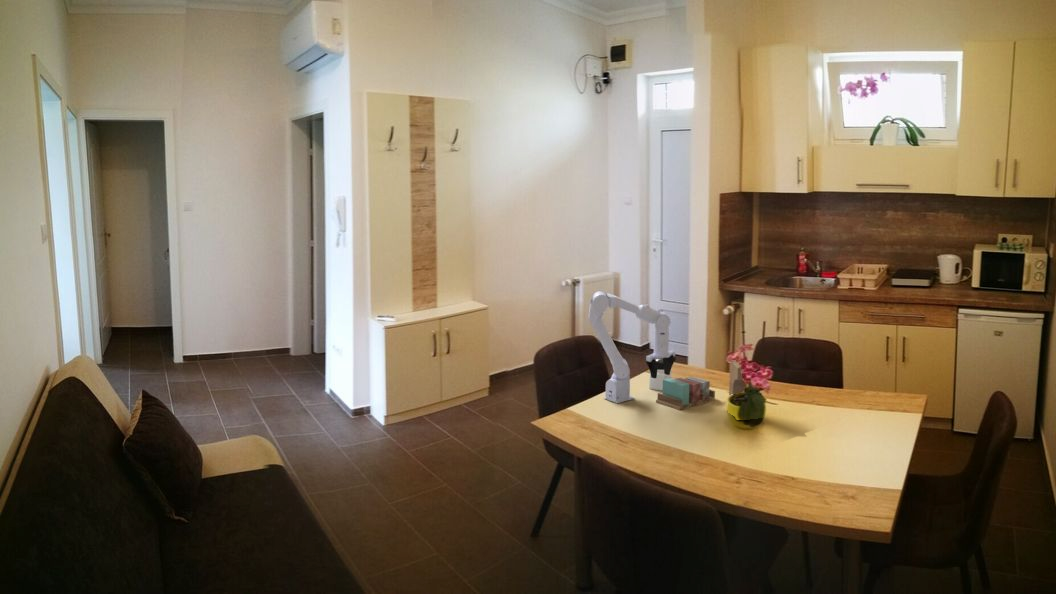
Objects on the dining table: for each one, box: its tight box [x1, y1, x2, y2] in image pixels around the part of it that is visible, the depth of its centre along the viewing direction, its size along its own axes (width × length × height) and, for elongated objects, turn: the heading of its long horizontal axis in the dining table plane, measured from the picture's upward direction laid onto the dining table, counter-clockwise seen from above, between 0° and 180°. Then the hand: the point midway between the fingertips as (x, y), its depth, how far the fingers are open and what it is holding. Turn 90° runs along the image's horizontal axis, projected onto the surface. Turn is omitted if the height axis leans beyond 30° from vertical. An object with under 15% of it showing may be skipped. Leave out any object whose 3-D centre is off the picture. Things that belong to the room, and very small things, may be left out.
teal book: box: [661, 377, 689, 406], centre depth 277 cm, size 4×10×8 cm, turn 37°
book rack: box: [655, 375, 716, 411], centre depth 281 cm, size 21×12×8 cm, turn 127°
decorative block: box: [728, 359, 746, 396], centre depth 262 cm, size 11×6×20 cm, turn 177°
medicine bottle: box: [648, 358, 672, 391], centre depth 298 cm, size 7×7×12 cm
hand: (660, 376), depth 283 cm, fingers open, 7 cm apart
